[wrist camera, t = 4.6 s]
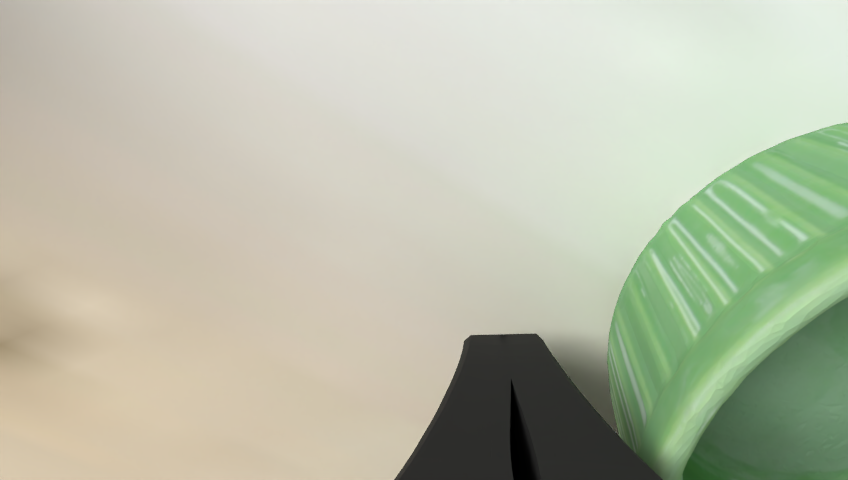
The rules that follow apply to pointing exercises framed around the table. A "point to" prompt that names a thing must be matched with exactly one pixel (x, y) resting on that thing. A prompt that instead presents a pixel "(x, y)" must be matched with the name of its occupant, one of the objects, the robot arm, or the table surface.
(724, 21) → the table surface
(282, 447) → the table surface
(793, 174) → the ramekin
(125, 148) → the table surface
